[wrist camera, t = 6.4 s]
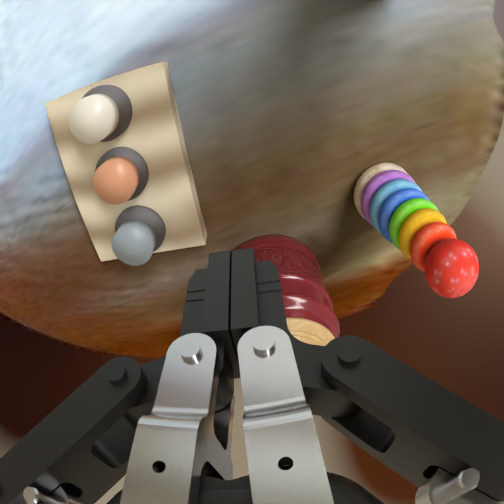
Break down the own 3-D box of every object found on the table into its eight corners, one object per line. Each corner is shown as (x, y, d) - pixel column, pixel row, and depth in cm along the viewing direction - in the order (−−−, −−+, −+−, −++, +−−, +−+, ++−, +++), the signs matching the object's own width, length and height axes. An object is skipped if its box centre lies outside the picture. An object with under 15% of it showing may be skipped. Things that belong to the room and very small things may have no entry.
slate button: (111, 223, 33) (105, 233, 32) (148, 216, 33) (144, 225, 31) (124, 258, 36) (120, 268, 34) (161, 252, 36) (157, 262, 34)
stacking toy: (373, 230, 40) (437, 336, 25) (339, 188, 37) (405, 291, 21) (418, 194, 38) (503, 284, 22) (388, 147, 34) (486, 226, 19)
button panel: (55, 99, 29) (41, 104, 26) (167, 61, 28) (160, 61, 26) (107, 250, 41) (99, 265, 38) (207, 234, 40) (204, 248, 37)
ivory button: (72, 102, 26) (63, 105, 24) (112, 87, 25) (105, 89, 24) (84, 143, 28) (75, 149, 26) (123, 131, 28) (117, 136, 26)
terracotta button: (94, 161, 30) (87, 168, 29) (133, 151, 30) (127, 157, 28) (107, 200, 33) (101, 208, 31) (145, 191, 33) (140, 199, 31)
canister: (337, 258, 43) (379, 362, 28) (284, 320, 49) (299, 423, 34) (253, 214, 39) (263, 322, 24) (205, 288, 45) (195, 399, 30)
